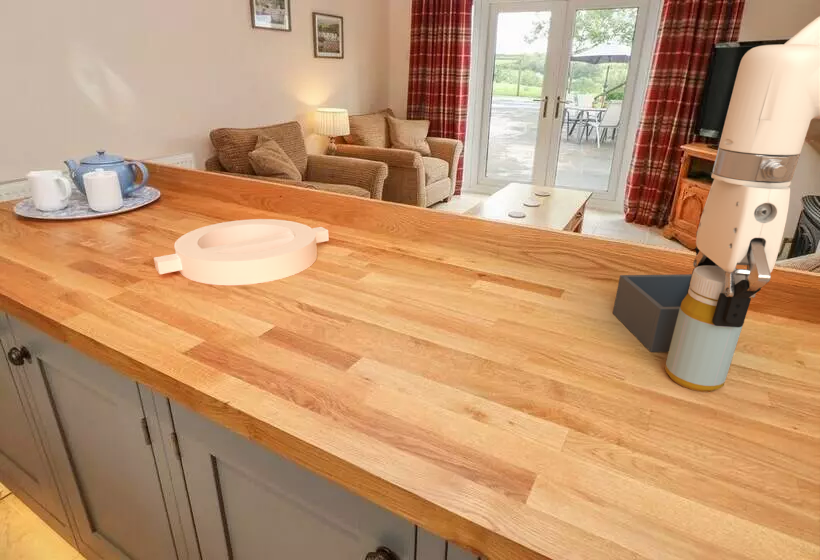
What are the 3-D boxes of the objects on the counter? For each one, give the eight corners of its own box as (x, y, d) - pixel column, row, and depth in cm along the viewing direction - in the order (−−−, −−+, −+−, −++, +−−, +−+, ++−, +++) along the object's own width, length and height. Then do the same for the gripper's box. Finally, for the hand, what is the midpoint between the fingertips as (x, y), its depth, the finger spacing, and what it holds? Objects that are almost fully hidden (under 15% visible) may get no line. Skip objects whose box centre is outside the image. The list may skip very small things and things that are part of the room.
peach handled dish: (332, 241, 115) (331, 222, 113) (289, 290, 90) (287, 265, 88) (220, 235, 119) (217, 216, 117) (148, 280, 93) (143, 256, 91)
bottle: (691, 397, 61) (723, 288, 56) (652, 367, 68) (676, 266, 62) (736, 389, 63) (771, 282, 57) (694, 361, 69) (721, 262, 63)
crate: (684, 311, 84) (694, 274, 81) (733, 350, 72) (746, 307, 69) (612, 313, 83) (619, 274, 80) (650, 352, 71) (660, 309, 69)
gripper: (842, 185, 46) (783, 349, 53) (749, 156, 62) (713, 285, 69) (757, 182, 47) (710, 343, 54) (687, 154, 63) (657, 282, 70)
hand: (712, 309), depth 61 cm, fingers closed on bottle, 7 cm apart
